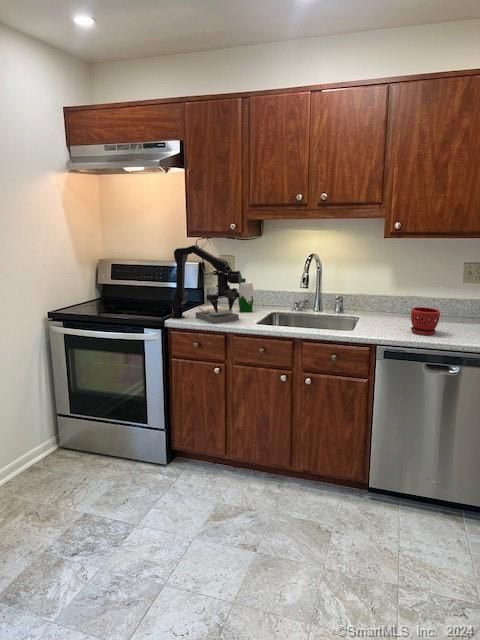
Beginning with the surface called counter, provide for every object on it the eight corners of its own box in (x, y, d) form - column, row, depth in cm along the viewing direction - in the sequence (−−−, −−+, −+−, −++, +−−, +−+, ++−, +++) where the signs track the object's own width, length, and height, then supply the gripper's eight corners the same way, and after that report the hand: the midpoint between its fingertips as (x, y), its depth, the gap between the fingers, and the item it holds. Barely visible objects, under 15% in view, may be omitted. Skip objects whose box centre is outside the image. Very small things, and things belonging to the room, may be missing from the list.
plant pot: (420, 337, 223) (422, 312, 220) (404, 330, 235) (406, 307, 232) (443, 335, 226) (446, 311, 223) (427, 329, 238) (429, 306, 235)
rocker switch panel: (195, 317, 267) (195, 312, 267) (218, 314, 277) (218, 308, 276) (214, 323, 252) (214, 318, 251) (238, 319, 261) (238, 314, 260)
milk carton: (238, 309, 289) (238, 277, 285) (252, 309, 289) (253, 277, 285) (238, 312, 281) (238, 279, 276) (253, 312, 281) (253, 279, 276)
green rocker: (208, 313, 259) (208, 310, 259) (226, 311, 266) (226, 307, 266) (214, 316, 255) (214, 312, 254) (232, 313, 262) (232, 310, 261)
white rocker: (199, 310, 267) (199, 307, 266) (216, 307, 274) (216, 304, 273) (204, 314, 263) (205, 310, 262) (222, 311, 270) (222, 308, 269)
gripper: (216, 286, 243) (217, 315, 246) (245, 282, 254) (245, 311, 257) (205, 284, 252) (206, 312, 255) (233, 281, 263) (234, 308, 266)
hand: (223, 311), depth 258 cm, fingers open, 9 cm apart
